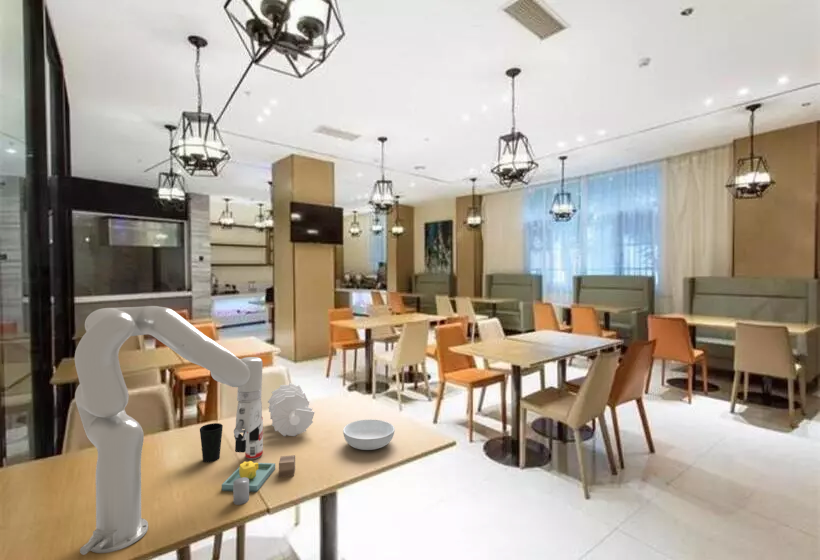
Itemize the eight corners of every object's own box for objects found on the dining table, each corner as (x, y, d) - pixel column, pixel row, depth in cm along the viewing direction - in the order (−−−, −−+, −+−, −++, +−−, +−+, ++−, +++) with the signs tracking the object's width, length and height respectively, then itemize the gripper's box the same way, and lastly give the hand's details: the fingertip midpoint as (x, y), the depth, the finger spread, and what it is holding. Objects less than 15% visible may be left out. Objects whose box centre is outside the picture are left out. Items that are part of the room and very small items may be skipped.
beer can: (243, 461, 143) (244, 418, 143) (246, 453, 149) (246, 412, 149) (262, 459, 145) (262, 416, 145) (263, 451, 151) (263, 411, 151)
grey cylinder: (244, 505, 117) (244, 485, 116) (230, 504, 117) (230, 484, 117) (251, 496, 121) (251, 477, 121) (237, 496, 121) (237, 477, 121)
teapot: (262, 479, 130) (262, 464, 130) (244, 485, 126) (244, 469, 126) (254, 470, 136) (254, 455, 136) (237, 475, 132) (237, 460, 132)
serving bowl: (401, 451, 152) (401, 434, 152) (349, 460, 145) (349, 442, 144) (385, 431, 172) (385, 416, 171) (338, 438, 164) (338, 422, 164)
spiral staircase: (283, 449, 162) (276, 425, 184) (322, 426, 168) (310, 405, 190) (263, 414, 157) (259, 393, 180) (304, 391, 163) (294, 374, 186)
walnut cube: (294, 476, 133) (294, 461, 133) (278, 477, 132) (278, 463, 132) (295, 468, 138) (295, 455, 138) (280, 470, 137) (280, 456, 137)
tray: (257, 492, 123) (257, 485, 123) (221, 490, 124) (221, 484, 124) (275, 468, 138) (275, 463, 138) (243, 467, 139) (243, 462, 139)
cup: (213, 464, 141) (213, 432, 140) (194, 462, 142) (194, 430, 142) (227, 455, 148) (227, 424, 148) (209, 453, 150) (209, 422, 149)
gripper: (248, 403, 121) (246, 457, 121) (270, 388, 139) (269, 436, 138) (225, 401, 122) (222, 456, 122) (250, 387, 139) (248, 435, 139)
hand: (247, 445), depth 130 cm, fingers open, 9 cm apart
